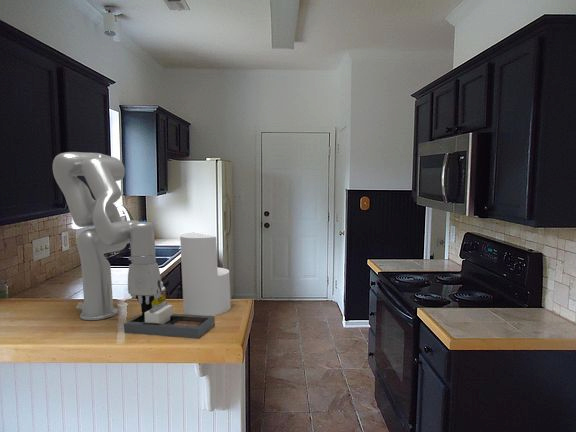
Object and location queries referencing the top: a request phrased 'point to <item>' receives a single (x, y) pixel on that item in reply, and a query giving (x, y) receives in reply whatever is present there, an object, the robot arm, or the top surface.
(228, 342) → the top surface
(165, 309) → the slider knob
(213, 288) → the cylinder
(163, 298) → the supplement bottle
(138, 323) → the dark grey tray
